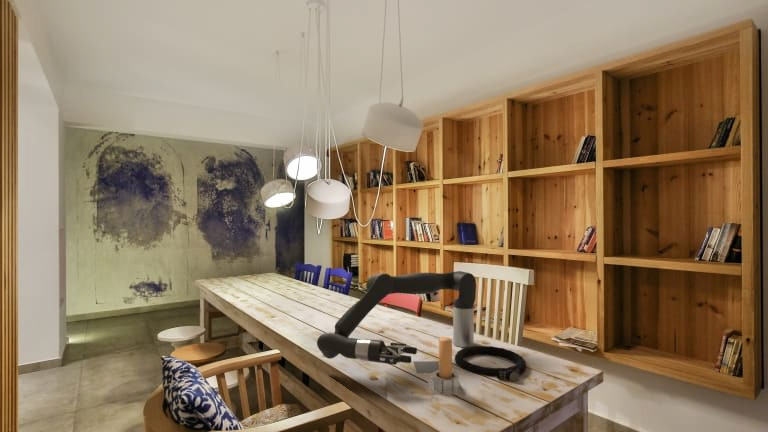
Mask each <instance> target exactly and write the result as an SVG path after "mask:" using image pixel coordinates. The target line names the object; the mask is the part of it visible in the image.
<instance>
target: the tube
mask: <svg viewBox="0 0 768 432" xmlns="http://www.w3.org/2000/svg"><path fill="white" fill-rule="evenodd" d="M438 361H439V377H440V378H443V379H451V378H452V371H453V338H450V337H440V338H438Z"/></svg>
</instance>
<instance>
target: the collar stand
mask: <svg viewBox="0 0 768 432" xmlns="http://www.w3.org/2000/svg"><path fill="white" fill-rule="evenodd" d="M431 374H432V379H427V380H426V381H427V385H428V387H429V390H430V393H431V395H432V396H433V395H434V396H437V395H438V396H439V395H442V396H446V395H447V396H448V395H466V392H465V391H464V389H463V387H462V385H461V382H460V379H459V377H460V376H459V374H458V373H457V372H455V371H453V370H452V378H451V379H443V378H440V377H439V370H437V371H435V372H433V373H431Z"/></svg>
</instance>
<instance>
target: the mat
mask: <svg viewBox="0 0 768 432" xmlns="http://www.w3.org/2000/svg"><path fill="white" fill-rule="evenodd" d="M413 365H414V368H415V369H414V370H415V371H416V374H432V373H433V372H435V371H437V370H439V360H437V361H436V360H434V361H433V360H429V361H427V360H426V361H425V360H424V361H421V360H420V361H419V360H417V361H413Z"/></svg>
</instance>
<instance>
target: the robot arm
mask: <svg viewBox="0 0 768 432" xmlns="http://www.w3.org/2000/svg"><path fill="white" fill-rule="evenodd" d="M476 281H477V279H476V277H475V275H474V274H472V273H470V272H465V271H461V270H459V271H451V272H445V273H444V272H443V273H438V272H415V273H414V272H413V273H407V274H403V275H393V276H392V275H390V274H388V273H385V272H382V273H376V274H374V275H373V274H372V275H371V276H370V277H369V278H368V279H367V280H366V284H365V286H366V287H365V289H366V290H367V292H366V293H365V294H364V295H363V296H362V297H361V298H360V299H358V301H356V303H354V304H353V305H351V306H350V307H349V308H348V309H347V310H346V311H345V312H344V313H343V315H342V316H341V317H340V318H339V319H338V320H337V321H336V323H335V324H334V332H325V333H322V334H320V335H319V337H317V341H316V345H317V348H318V350H319V351H320V353H322V356H324V358H327V359H328V360H329V359H335V358H337V356H338V355H339V354H340V355H341V356H342V357H344V358H347V359H354V360H359V361H362V362H363V361H364V362H372V363H379V364H381V363H382V364H388V365H397V364H399V363H404V364H405V363H406V364H410V363H412V356H411V355H417V353H418V348H417V347H415V346H414V347H413V346H407V343H401V342H400V343H399V342H390V344H389V345H386V344H385V341H384V340H382V339H381V340H380V339H379V340H378V339H369V338H353V337H352V338H351V337H350V335H351V334H352V333H353V332H354V331H355V330H356V328H357V327H358V326H359V324H360V323H362V321H363V320H364V319H365V318H366V317H367V316H368V314H369V313H371V311H372V310H373V309H374V308H375V307H376V306H377V305H378V304H379V303H380V302H382V300H384V298H386V297H388V295H392V294H403V295H405V294H406V295H427V294H428V295H429V294H433V293H436V292H439V291H441V290H450V291H451V290H452V291H456V292H458V297H457V298H455V299H454V300H453V303H452V304H453V305H452V306H453V314H452V317H453V321H452V322H453V323H452V324H453V331H452V332H453V333H452V334H453V338H452V345H454V346H457V347H460V348H467V347H472V346H474V345H475V340H474V339H475V337H474V335H475V333H474V330H475V325H474V324H475V323H474V319H475V317H474V316H475V315H474V313H475V309H474V305H475V302H476V297H477V295H476V294H477V282H476ZM404 354H405V355H404ZM406 354H409V355H406Z"/></svg>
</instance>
